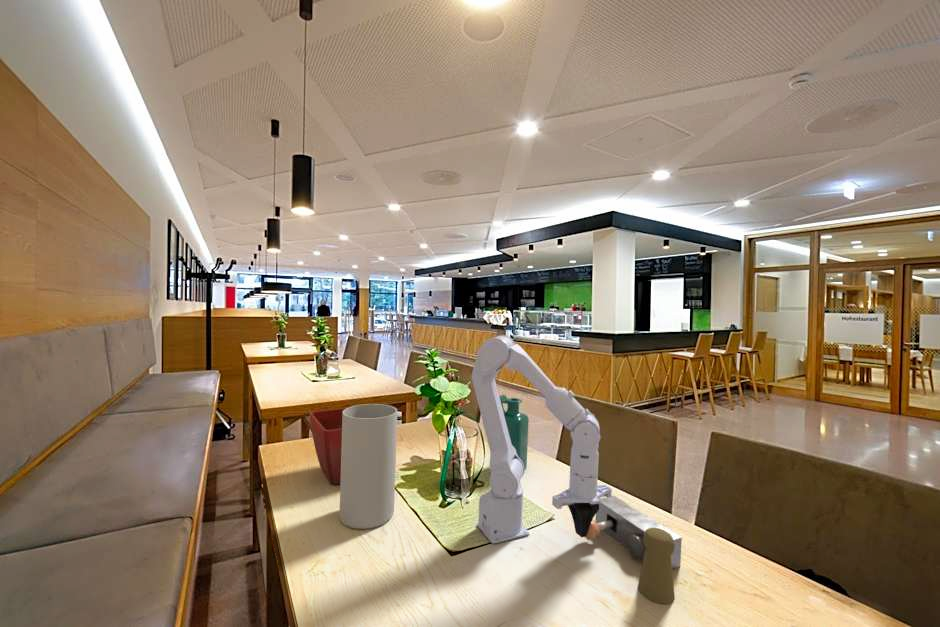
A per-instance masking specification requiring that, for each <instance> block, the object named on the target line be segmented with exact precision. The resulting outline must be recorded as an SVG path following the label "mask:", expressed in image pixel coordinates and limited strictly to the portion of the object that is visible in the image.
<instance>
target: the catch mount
mask: <svg viewBox="0 0 940 627" xmlns="http://www.w3.org/2000/svg"><path fill="white" fill-rule="evenodd" d="M598 504H599V510H598V511H597V513H596V514H595V520H594V521H595V522H596V523H600V522H604V521H608V520H611V521H612V523H613V527H610V528H607V529H603V530H602V531H603V532H604V533H606V534H607V535H608V536H610V537H611V538H613V540H615V541H616V542H618V543H619V544H620V545H622V546H623V547H625V548H626V549H627V546H626V538H627V537H629V536H632V535H635V534H638V535H640V536H641V537H642V538H643V534H644V532H645V531H646V530H647V529H648V528H659V529H662V530H664V531H666V532H668V533H669V534H670V535H671V536H672V538H673V540H674V544H675V549H674V551H673V554H671V563H672V571H673V570H675V569H678V568H681V557H682V543H683V542H682V540H683V539H682V538H683V537H682V536H680V535H678V533H675V532H674V531H672V530H671V529H670V528H667V527H666V526H664V525H662V524H661V523H660V522H657V521H656V520H654V519H653V518H651V517H649V516H648V515H647V514H646V513H643V512H642V511H640V510H638V509H637V508H635V507H633V506H632V505H630V504H628V503H627V502H625V501H624V500H622V499H620V498H619V497H617V496H616V495H611V497H609V498H607V497H606V496H605V497H601V498H599V503H598ZM637 557H638V558H639V559H640V560H642V561H643V558H644V554H643V555H640V556H637Z"/></svg>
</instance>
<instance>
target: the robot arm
mask: <svg viewBox="0 0 940 627" xmlns="http://www.w3.org/2000/svg"><path fill="white" fill-rule="evenodd" d="M505 364H506V365H505ZM504 365H505V367H504V368H505V369H506V370H511V371H516V372H519V373H521V375H522V376H523V377H524V378H525V379H527V380H528V381H529V383H530V384H532V385H533V386H534V387H535V388H536V389H537V391H539V393H541V394H542V395H543V397H544V399H545V400H544V401H545V402H544V405H545V406H546V408H547V409H548V410H549V411H550V412H551V413H552V415H554V417H555V418H556V419H557V420H558V421H559V422H560V423H561V425H563V426H564V428H566V429H567V430H569V431H570V437H571V440H572V446H571V449H570V460H569V461H570V463H569V465H570V466H569V467H570V468H569V482H568V483H569V486H568V488H566V489H564V490H563V491H562V492H559V493H558V494H554V495H552V500H551V505H552V506H553V507H554V508H555V509H557V510H561V509H563V508H562V507H566V506H567V507H568V509H569V512H570V514H571V517H572V520H573V525H574V530H575V533H576V534H577V535H578V536H579V537H580V538H585V536H587V533H588V530H589V527H590V524H591V522H592V519H593V520H594V518H595V517H596V513H597V511H598V510H599V504H598V503H599V499H601V498H605V497H607V498H609V497H611V496H612V493H613V492H612V488H611V487H610V486H608V485H606V484H602V485H598V475H599V459H600V458H599V456H600V454H599V451H598V450H599V443H600V441H601V438H602V436H601V430H600V428H601V427H600V423H599V421H598V419H597V418H596V416H595V414H593V413H592V412H591V411H590V410H589V409H588V408H584V407H583V406H582V405H581V404H580V402H578V401H577V399H576V398H575V393H574V392H573V391H572V390H571V389H570V390H567V389H566V387H561V386H560V387H559V386H556V385H555V384H554V383H553V382H552V381H551V379H550V378H549V377H548V376H547V375H546V374H545V373H544V372H543V370H542V369H541V368H540V367H539V366H538V364H537V363H536V362H535V361H534V360H533V359H532V358H531V357H530V355H529V354H528V353H527V352H526V350H524V349H523V348H522V346H520V345H519V344H518V343H515V341H514V340H513V338H512V337H510V336H508V335H505V334H500V335H497V336H495V337H490V338H488V339H486V340H484V342H482V344H481V345H480V347H479V348H478V349H477V350H476V358H475V362H474V366H473V369H472V371H471V380H472V385H473V389H474V391H475V392H474V393H475V396H476V400H477V404H478V408H479V412H480V416H481V421H482V425H483V428H484V433H485V436H486V439H487V444H488V448H489V452H490V453H489V454H490V455H489V469H490V477H489V486H490V490H488V491H487V492H485V493H483V494H481V495H480V497H479V500H478V501H479V502H478V522H477V523H476V526H477V527H478V528H479V530H480V531H481V533H483V534H484V536H485V537H486V538H487V539H488V540H489V541H490V543H491V544H493V545H495V544H498V543H501V542H506V541H509V540H513V539H518V538H521V537H525V536H529V535H530V531H529V530H528V529H527V528H526V527H525V526H524V525H523V522H522V521H523V499H524V489H523V487H522V483H521V479H522V478H523V476H524V475H525V469H526V468H525V469H524V464H523V462H522V461H521V459H520V458H519V457H518V455H517V452H516V449H515V448H514V447H513V445H512V444H511V440H510V436H509V432H508V428H507V425H506V421H505V417H504V413H503V409H502V405H501V401H500V397H499V396H500V394H499V391H498V390H499V389H498V387H497V383H496V377H497V375H498V374H499V372H500V371H501V370H502V367H503V366H504Z"/></svg>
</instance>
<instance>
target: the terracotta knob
mask: <svg viewBox="0 0 940 627" xmlns="http://www.w3.org/2000/svg"><path fill="white" fill-rule="evenodd" d="M610 527H613V523H612V521H611V520H608V521H604V522H600V523H596V522H595V520H594V518H593V519H592V522H591V524H590V527H589V530H588V533H587V536H585V537H584V538H585V539H586V540H588V541H589V540H593V539H596V538H598V537H599V535H600V531H603V529H607V528H610Z"/></svg>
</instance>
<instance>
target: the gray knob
mask: <svg viewBox="0 0 940 627" xmlns="http://www.w3.org/2000/svg"><path fill="white" fill-rule="evenodd" d="M626 546H627V548H626V549H627V550H628V552H629V553H630V554H631V556H633V557H638V556H640V555H643V554H644V553H645V548H646V547H645V546H644V543H643V538H642V537H641V536H640V535H638V534H635V535H632V536H629V537H627V538H626Z"/></svg>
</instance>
